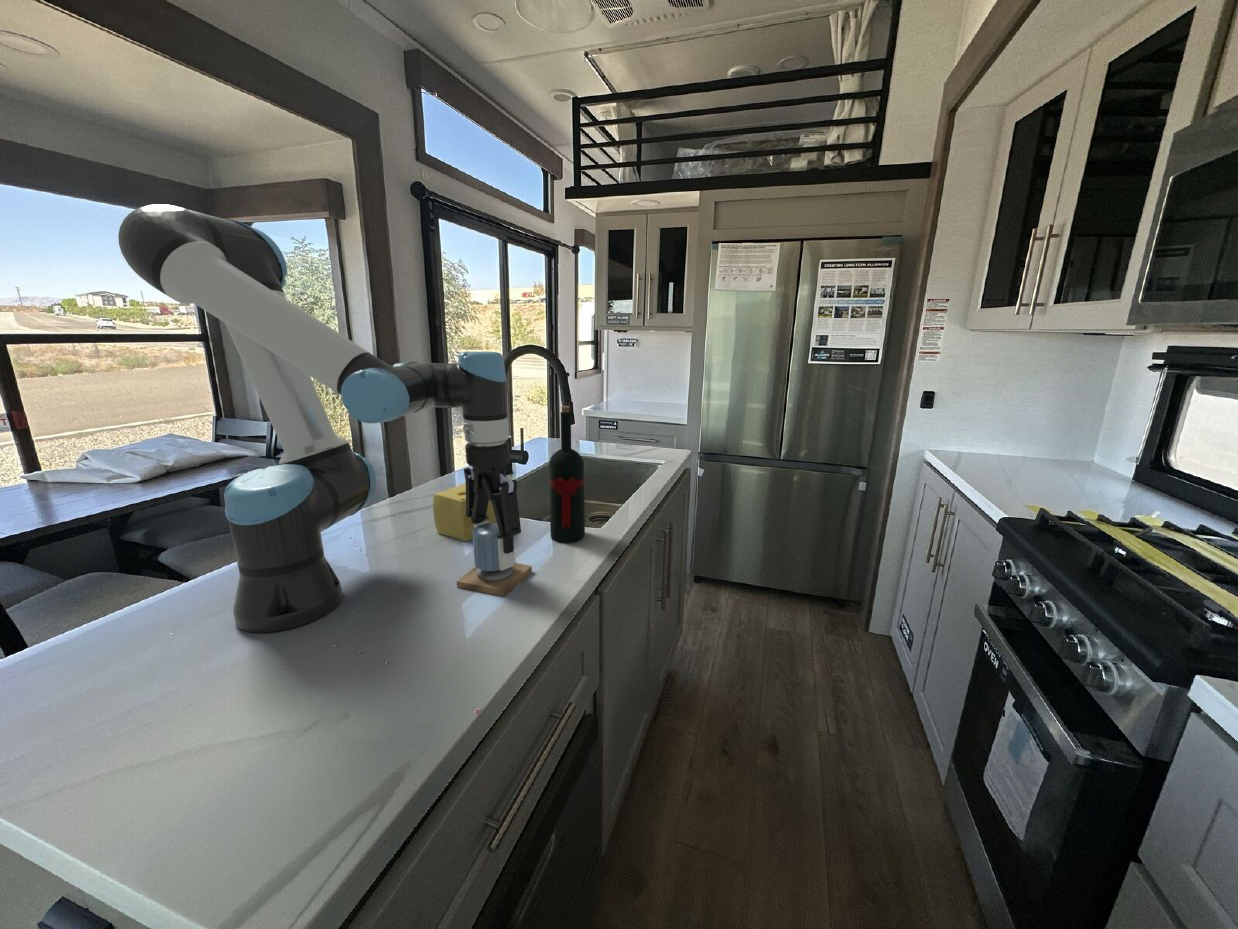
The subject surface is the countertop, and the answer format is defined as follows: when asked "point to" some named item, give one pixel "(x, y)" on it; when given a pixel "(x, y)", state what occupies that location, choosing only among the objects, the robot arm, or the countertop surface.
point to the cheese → (455, 513)
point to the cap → (486, 547)
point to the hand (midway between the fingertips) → (494, 560)
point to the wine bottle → (566, 488)
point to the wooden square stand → (494, 579)
